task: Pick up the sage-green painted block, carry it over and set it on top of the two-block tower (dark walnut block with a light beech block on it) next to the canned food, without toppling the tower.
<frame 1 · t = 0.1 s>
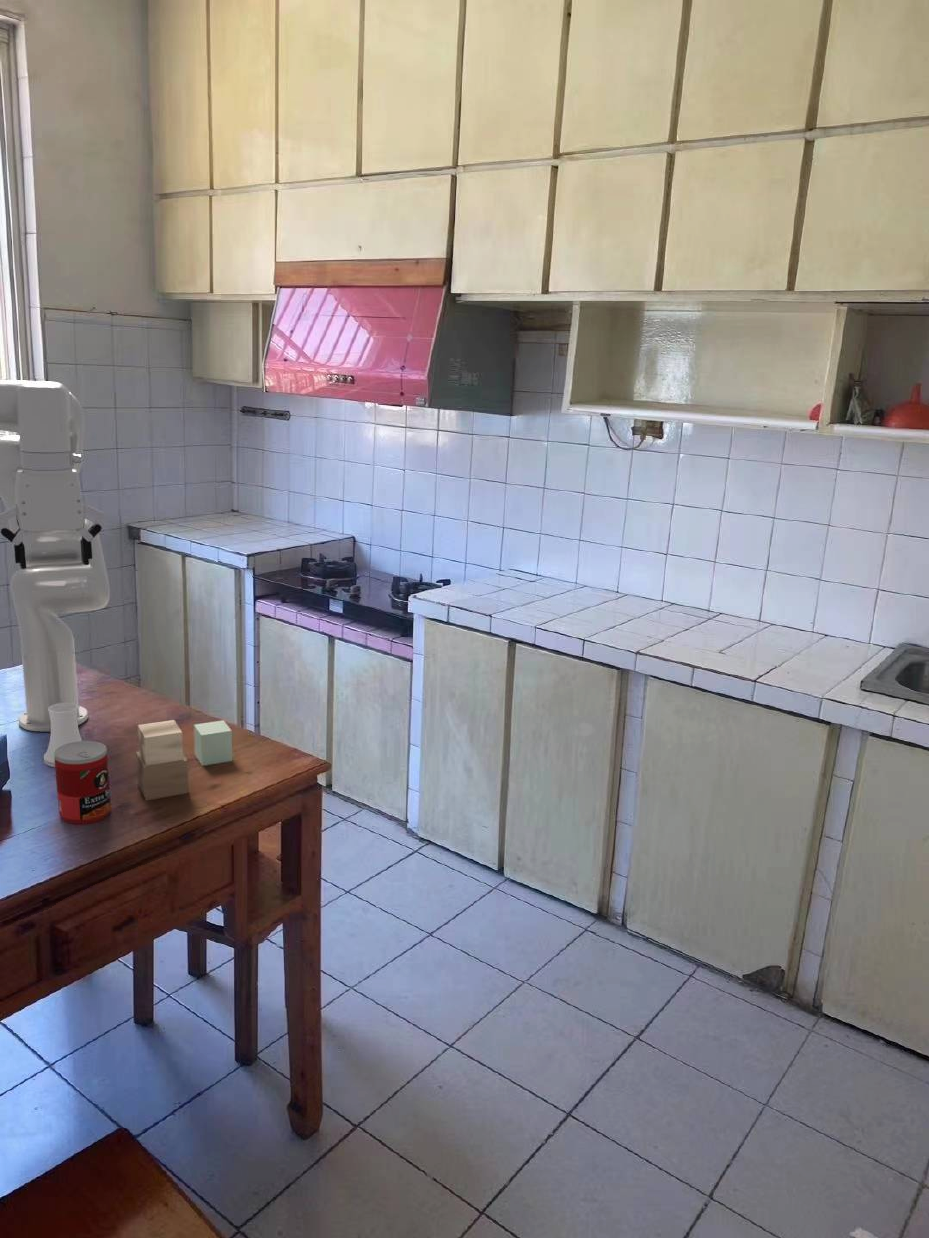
hand: (54, 565, 154), 37 cm above the table, tool pointing down, fingers open, 9 cm apart
sage block: (213, 757, 170), on the table
walnut block: (163, 788, 157), on the table
vase: (66, 759, 167), on the table
canned food: (85, 814, 148), on the table
beech block: (161, 755, 156), point 6 cm above the table
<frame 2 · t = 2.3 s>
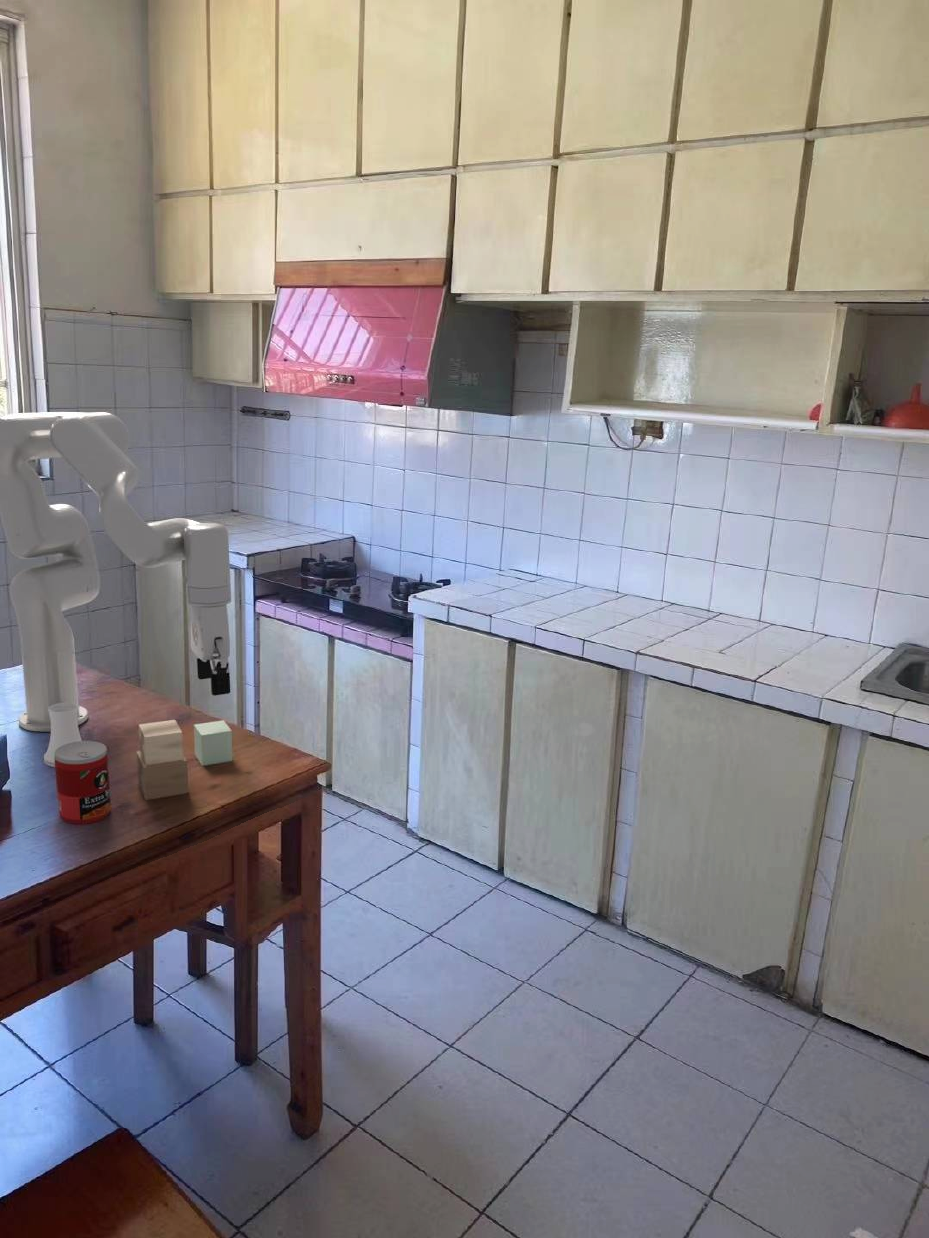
hand: (213, 685, 166), 14 cm above the table, tool pointing down, fingers open, 9 cm apart
walnut block: (163, 788, 158), on the table, touching beech block
beech block: (161, 755, 156), point 6 cm above the table, touching walnut block
everything else where it was.
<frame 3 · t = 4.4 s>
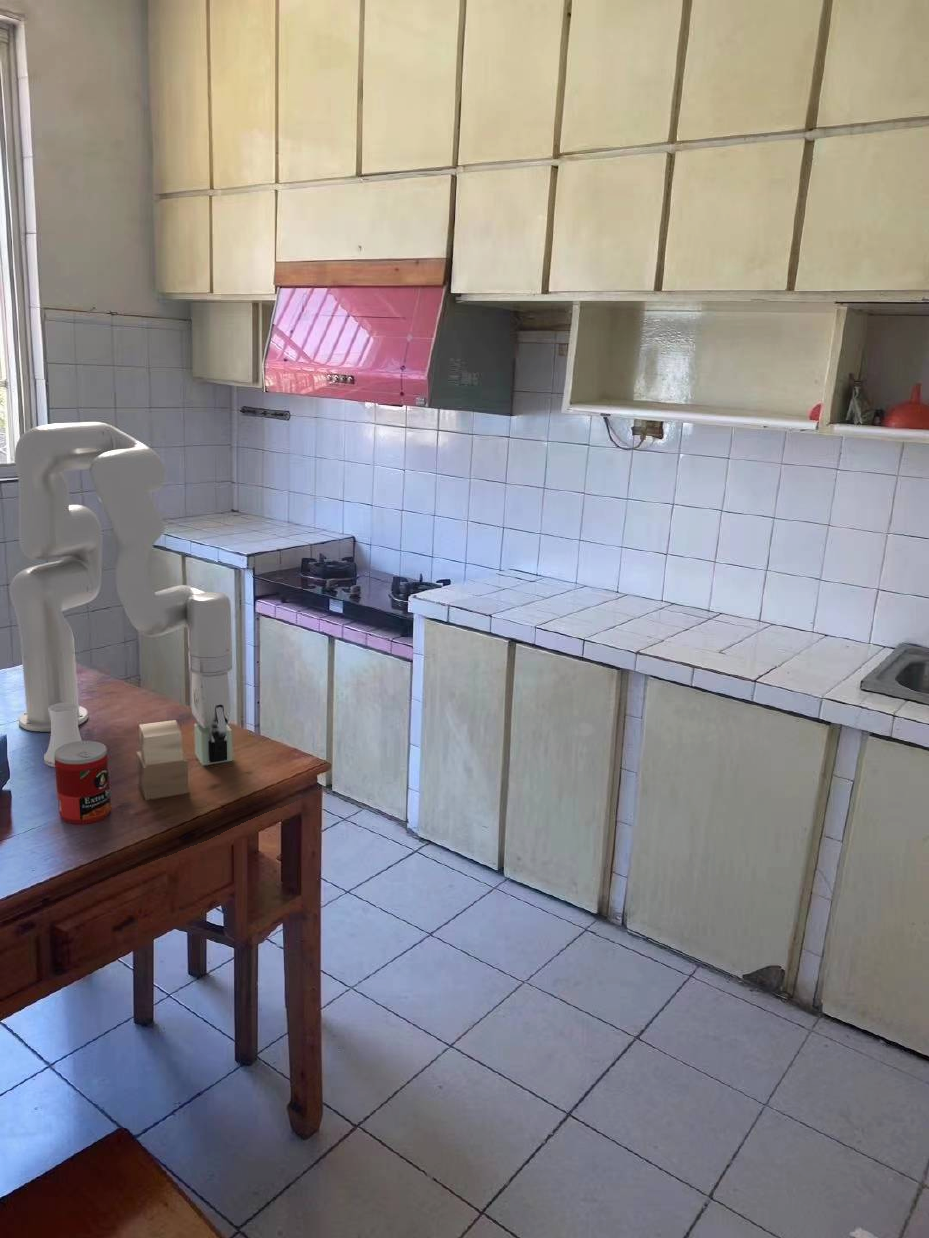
hand: (213, 753, 170), 1 cm above the table, tool pointing down, fingers closed on sage block, 5 cm apart
sage block: (213, 757, 170), on the table, touching gripper
everything else where it was.
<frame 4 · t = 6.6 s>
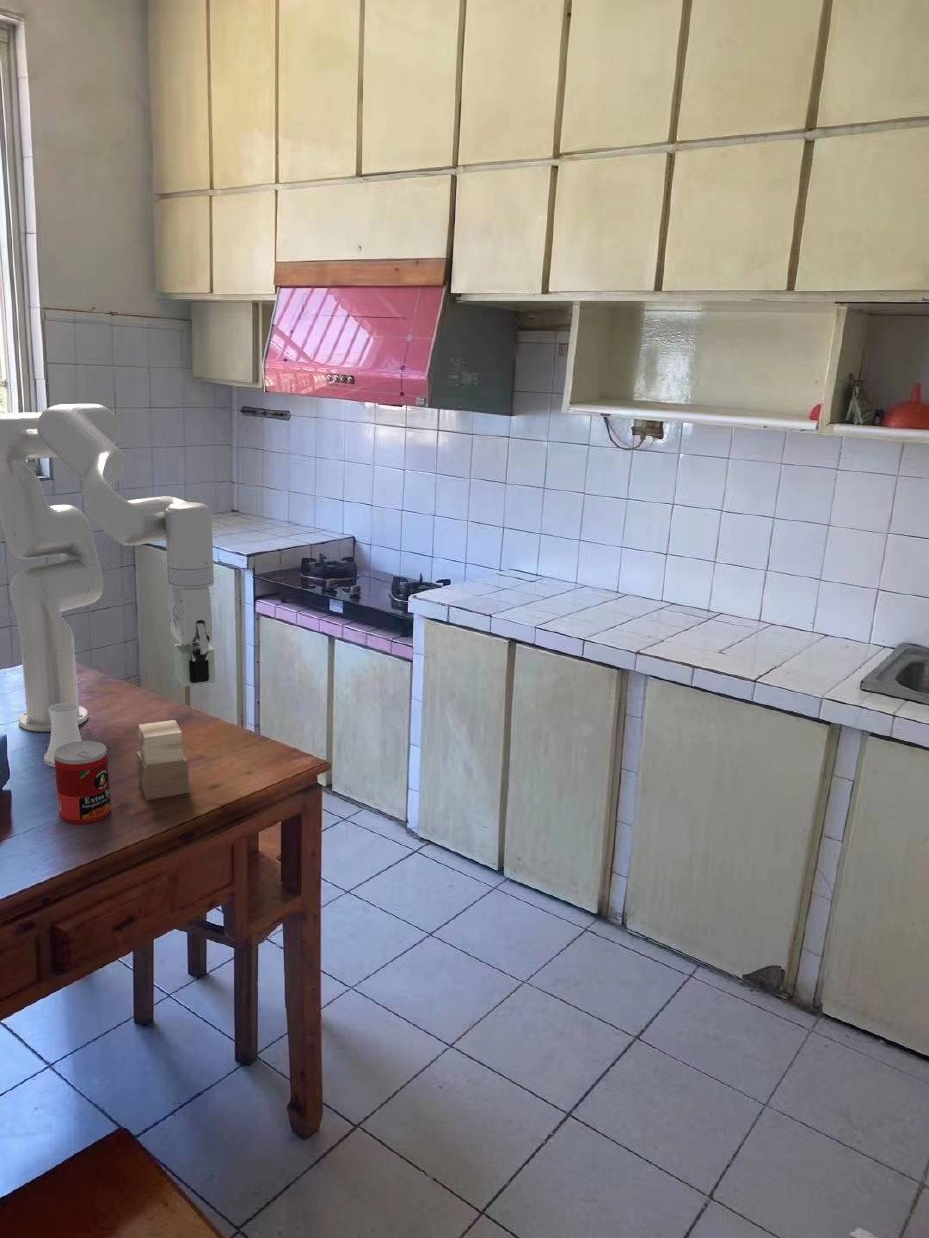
hand: (194, 675, 161), 17 cm above the table, tool pointing down, fingers closed on sage block, 5 cm apart
sage block: (194, 679, 162), point 17 cm above the table, touching gripper
everything else where it was.
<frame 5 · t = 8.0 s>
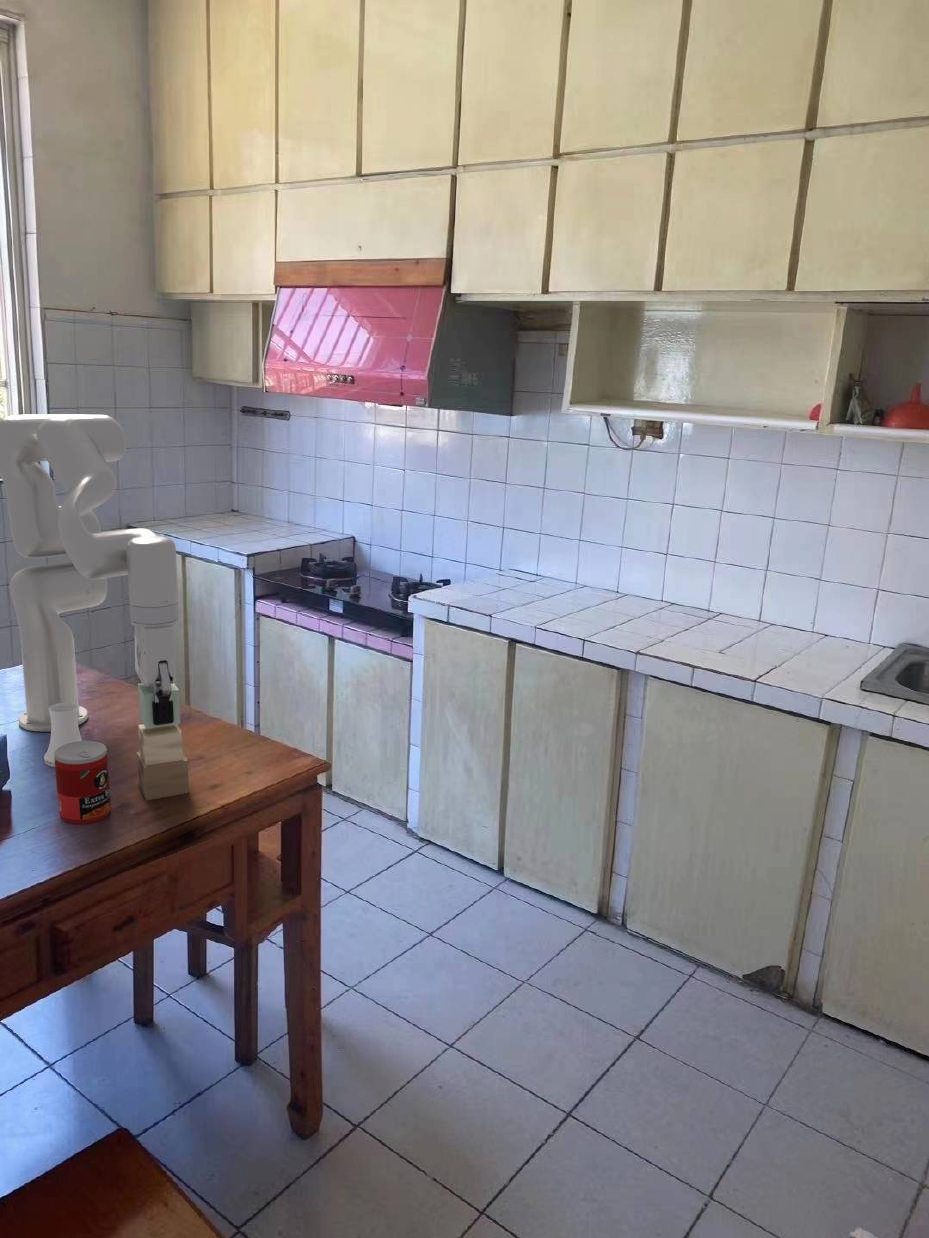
hand: (159, 716, 154), 13 cm above the table, tool pointing down, fingers closed on sage block, 5 cm apart
sage block: (159, 720, 154), point 12 cm above the table, touching gripper
everything else where it was.
when the fingers open (13 cm above the table, at t = 9.1 s): sage block drops 1 cm, resting on beech block.
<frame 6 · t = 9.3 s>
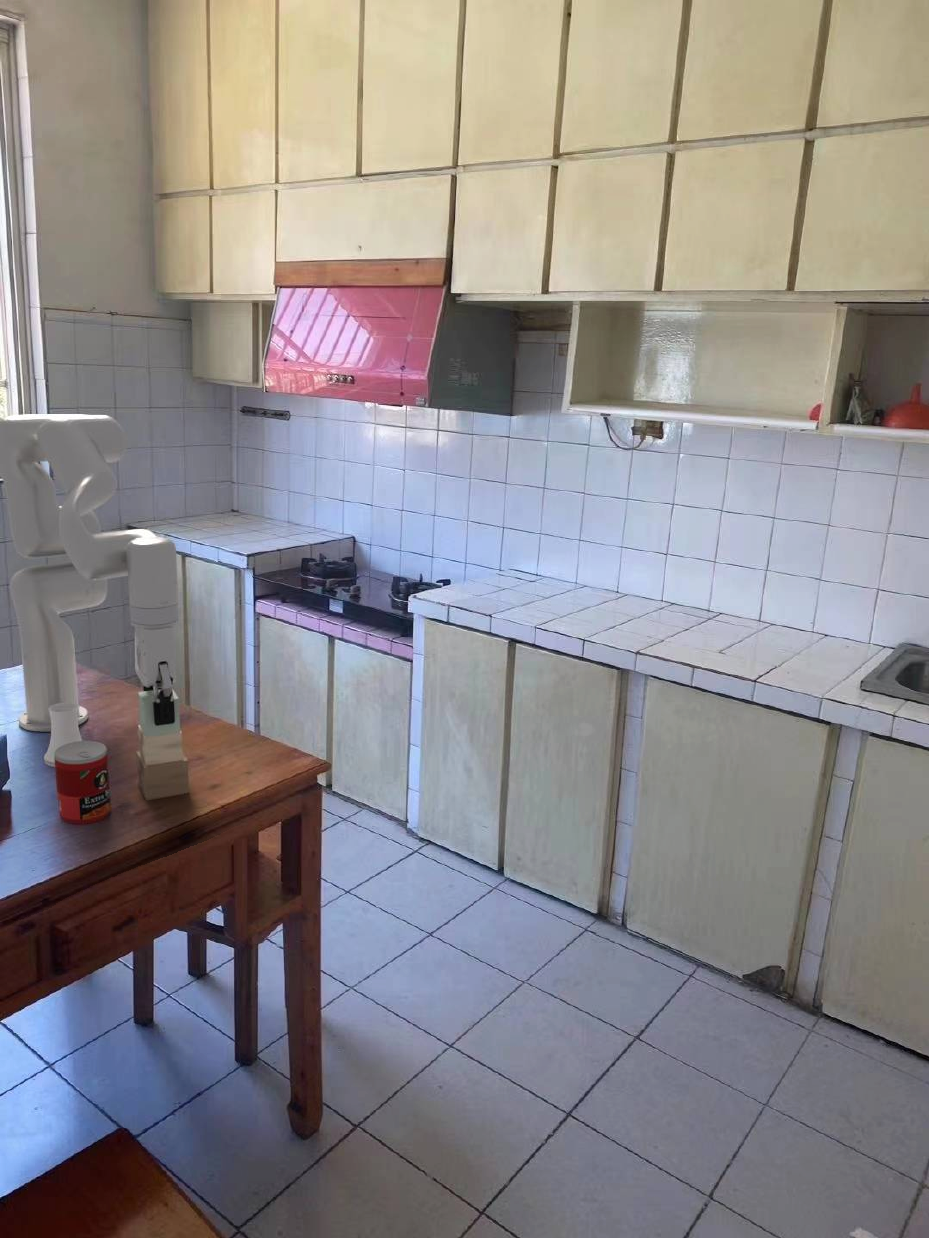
hand: (159, 714, 154), 13 cm above the table, tool pointing down, fingers open, 7 cm apart
sage block: (159, 728, 154), point 11 cm above the table, touching beech block
beech block: (161, 756, 156), point 6 cm above the table, touching sage block, walnut block
everything else where it was.
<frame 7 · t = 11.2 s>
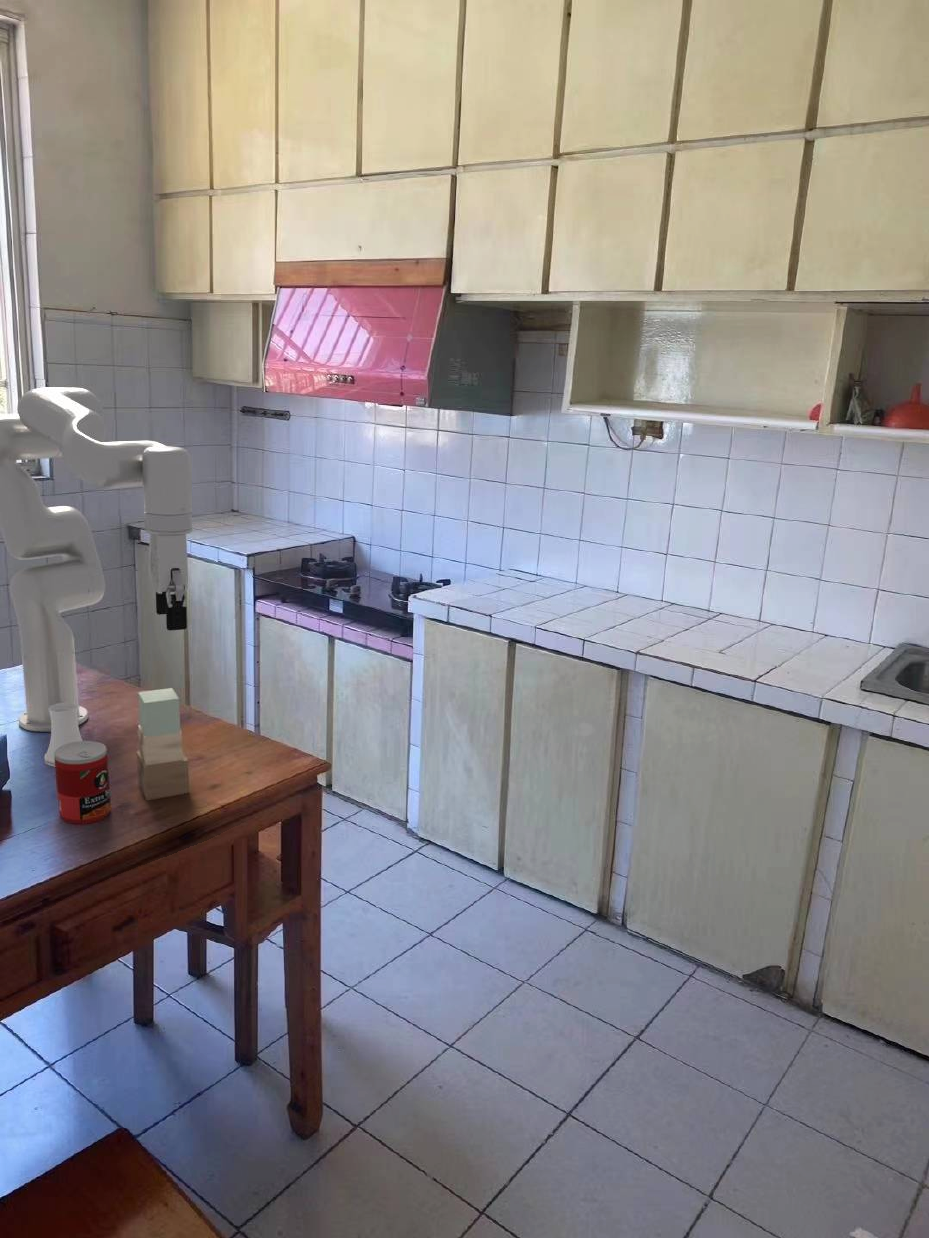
hand: (171, 621, 157), 28 cm above the table, tool pointing down, fingers open, 9 cm apart
nothing on the table moved.
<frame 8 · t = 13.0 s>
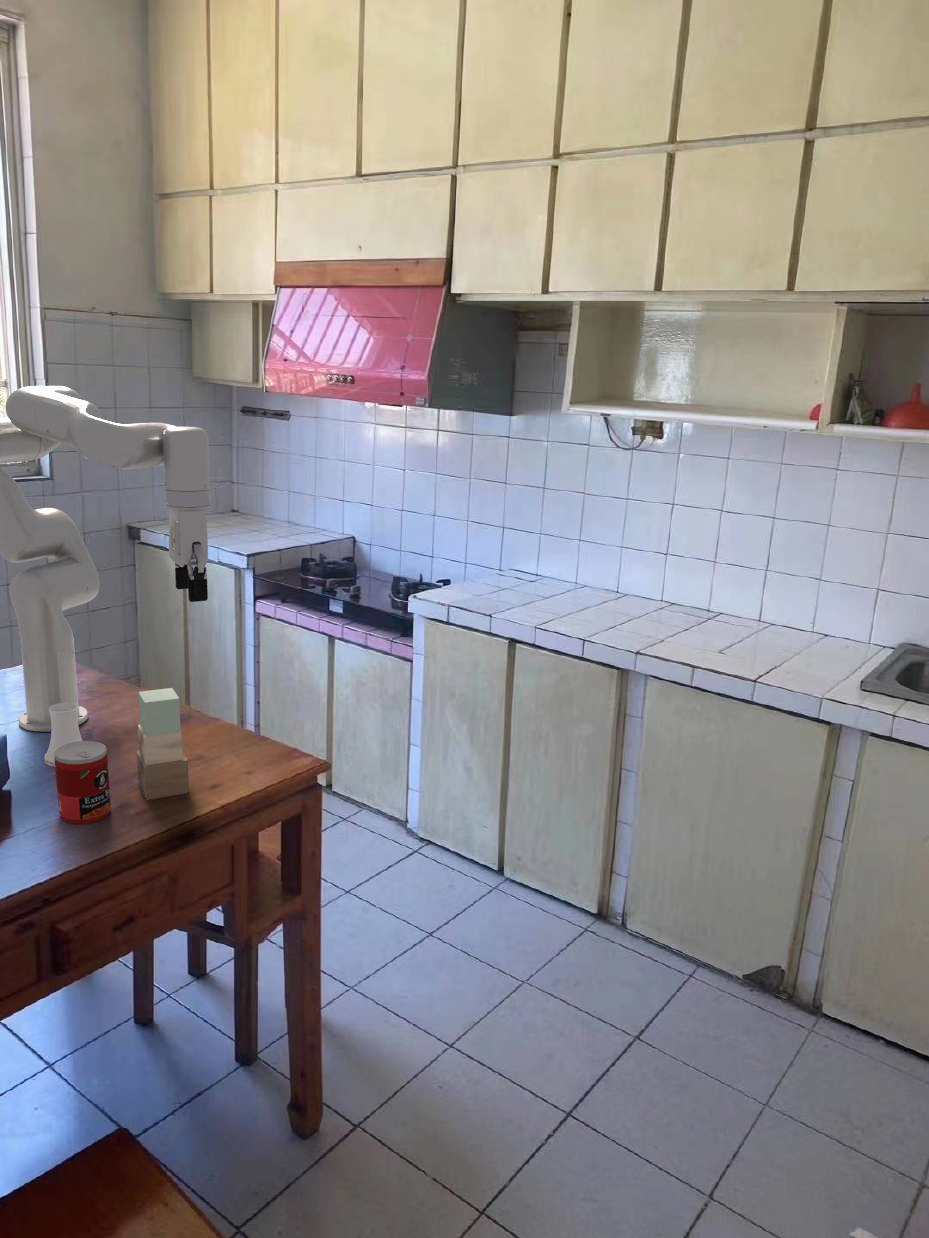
hand: (191, 594, 165), 30 cm above the table, tool pointing down, fingers open, 9 cm apart
nothing on the table moved.
at the end: sage block 0.2 cm off-centre on the beech block, point 5.0 cm above the beech block's base; sage block tilted 0°; beech block moved 0.1 cm from its start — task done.
